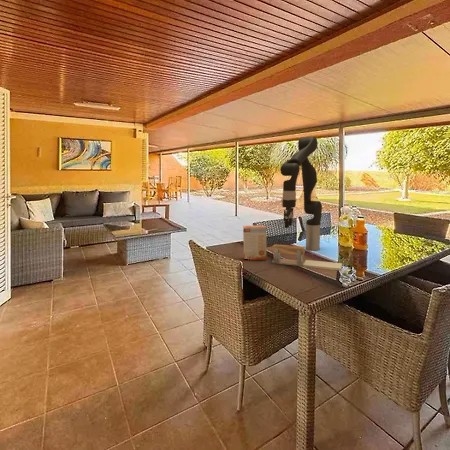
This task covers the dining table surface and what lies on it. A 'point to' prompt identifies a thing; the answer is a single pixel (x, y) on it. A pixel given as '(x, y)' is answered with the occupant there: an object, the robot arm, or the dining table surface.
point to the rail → (289, 249)
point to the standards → (286, 261)
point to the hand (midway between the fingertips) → (288, 226)
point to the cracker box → (254, 242)
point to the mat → (323, 265)
